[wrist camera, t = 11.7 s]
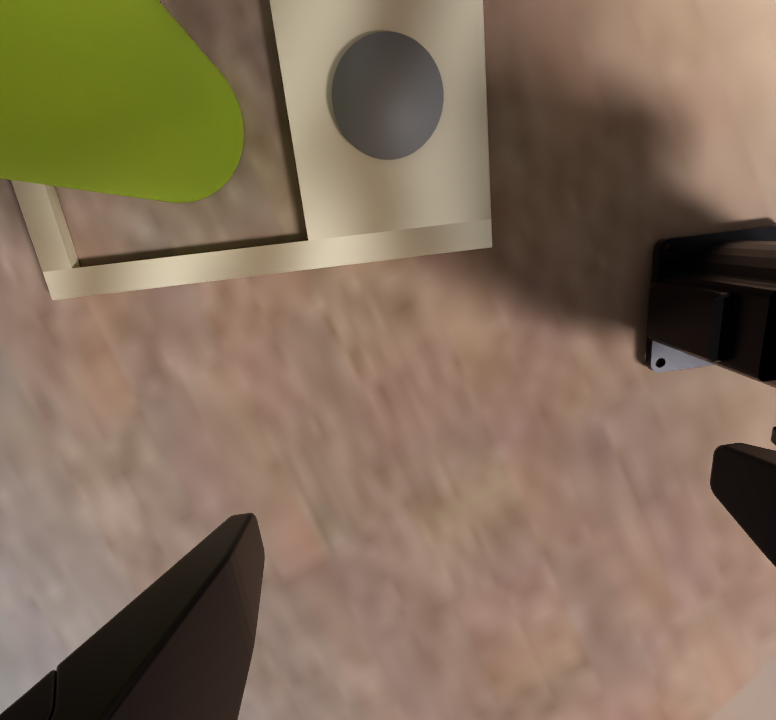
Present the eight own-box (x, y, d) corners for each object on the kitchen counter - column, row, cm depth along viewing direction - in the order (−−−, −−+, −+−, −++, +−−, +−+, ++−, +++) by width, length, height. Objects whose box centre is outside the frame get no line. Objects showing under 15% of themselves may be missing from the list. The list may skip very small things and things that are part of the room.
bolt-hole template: (474, -96, 16) (481, -114, 15) (488, 246, 20) (494, 247, 19) (-56, -47, 15) (-81, -63, 15) (61, 297, 19) (47, 301, 18)
